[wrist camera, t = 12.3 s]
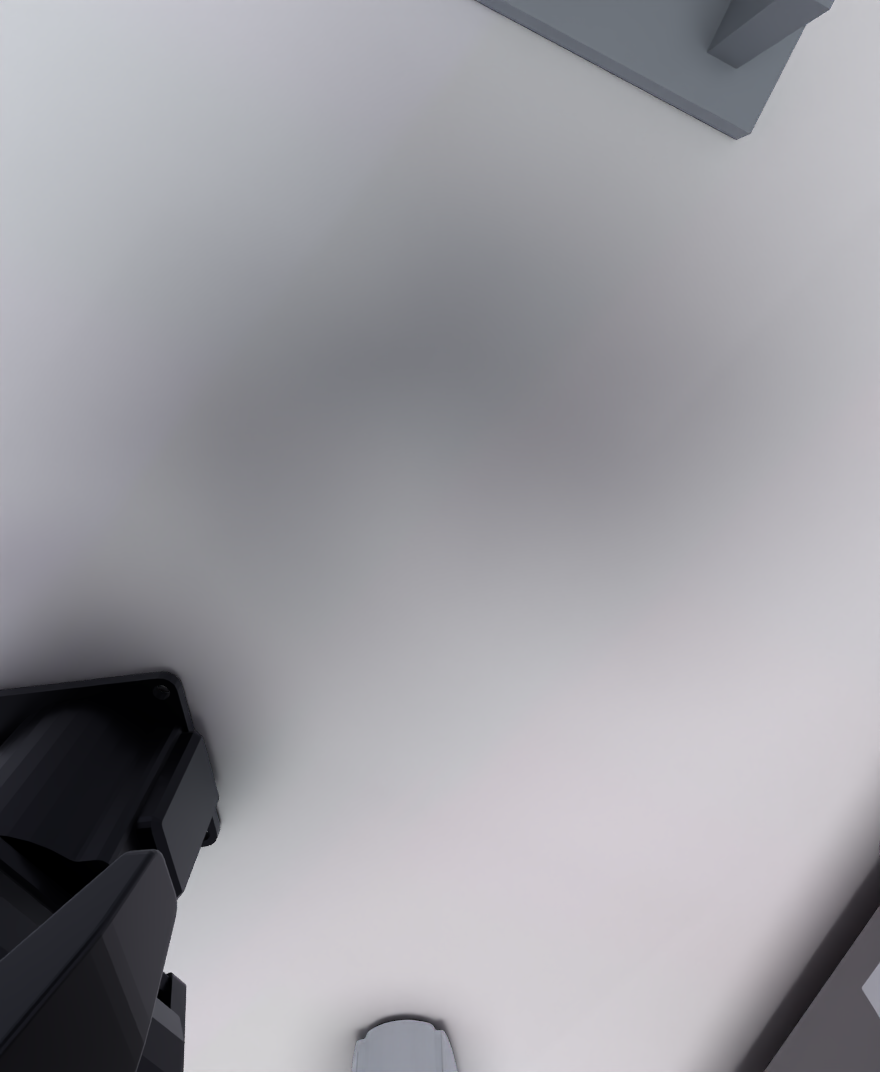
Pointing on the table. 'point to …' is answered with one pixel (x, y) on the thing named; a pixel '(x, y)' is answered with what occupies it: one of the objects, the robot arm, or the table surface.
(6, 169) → the table surface
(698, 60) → the dish rack
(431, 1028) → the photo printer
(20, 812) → the robot arm
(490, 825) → the table surface
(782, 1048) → the organizer tray
